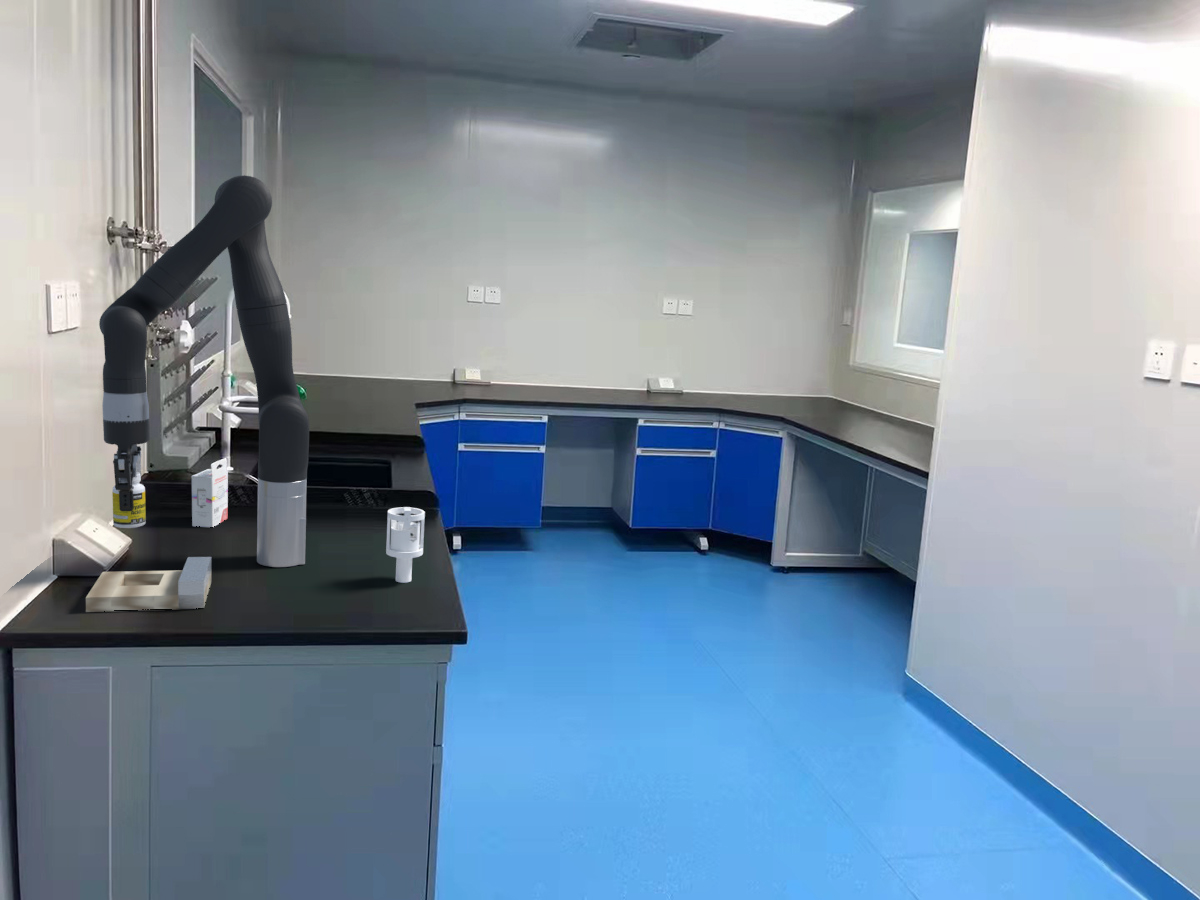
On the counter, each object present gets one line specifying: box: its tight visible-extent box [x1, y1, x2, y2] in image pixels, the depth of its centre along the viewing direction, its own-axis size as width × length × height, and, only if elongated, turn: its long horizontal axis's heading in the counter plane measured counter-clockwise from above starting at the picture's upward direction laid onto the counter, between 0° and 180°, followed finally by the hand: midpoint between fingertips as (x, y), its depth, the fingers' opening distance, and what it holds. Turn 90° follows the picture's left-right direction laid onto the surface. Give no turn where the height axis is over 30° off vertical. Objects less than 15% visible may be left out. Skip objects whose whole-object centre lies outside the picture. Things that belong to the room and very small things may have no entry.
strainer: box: [385, 506, 426, 584], centre depth 181 cm, size 7×7×15 cm
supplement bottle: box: [111, 472, 147, 529], centre depth 171 cm, size 5×5×10 cm
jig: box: [85, 556, 212, 613], centre depth 162 cm, size 18×14×5 cm
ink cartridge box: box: [191, 457, 229, 528], centre depth 211 cm, size 9×5×15 cm, turn 179°
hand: (129, 506), depth 172 cm, fingers closed on supplement bottle, 5 cm apart
